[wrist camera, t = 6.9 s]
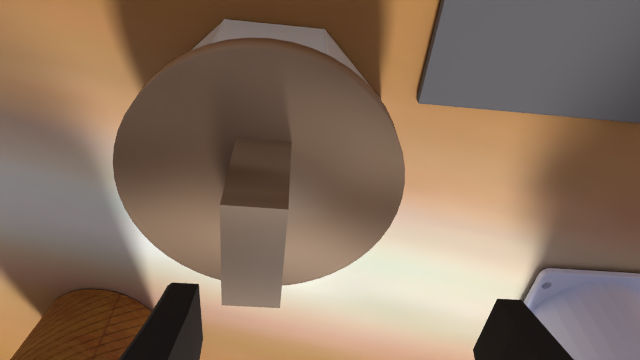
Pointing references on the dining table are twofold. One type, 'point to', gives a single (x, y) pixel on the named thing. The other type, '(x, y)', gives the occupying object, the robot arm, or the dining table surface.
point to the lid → (259, 165)
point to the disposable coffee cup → (85, 327)
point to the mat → (536, 57)
